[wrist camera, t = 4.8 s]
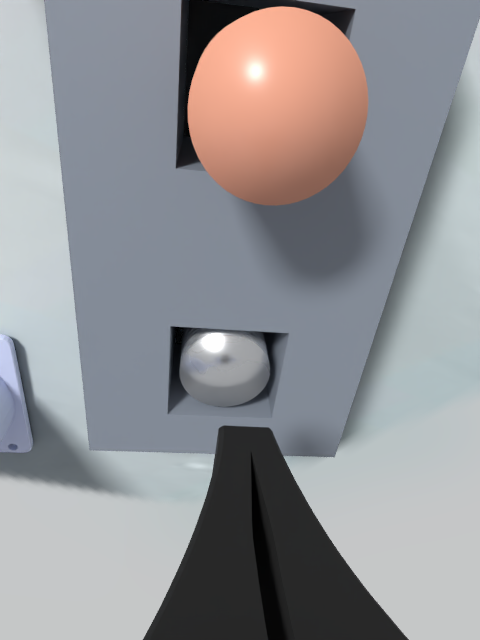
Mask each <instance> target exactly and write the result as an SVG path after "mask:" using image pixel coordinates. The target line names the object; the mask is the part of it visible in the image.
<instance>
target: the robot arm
mask: <svg viewBox="0 0 480 640" xmlns="http://www.w3.org/2000/svg"><path fill="white" fill-rule="evenodd" d="M32 446H33V438H32V433H31V428H30V423H29V418H28V413H27V408H26V403H25V398H24V393H23V387H22V382H21V377H20V372H19V367H18V362H17V357H16V352H15V347H14V343H13V340H12V339H11V338H10V337H8V336H6V335H1V334H0V452H17V453H25V452H29V451H30V450H31V449H32ZM143 640H409V639H408V638H407V637H406V636H405V635H404V634H403V633H402V632H401V630H400V629H399V628H398V627H397V626H396V624H395V623H394V622H393V621H392V620H391V618H390V617H389V616H388V615H387V614H386V613H385V611H384V610H383V609H382V608H381V607H380V605H379V604H378V603H377V602H376V601H375V600H374V598H373V597H372V596H371V595H370V593H369V592H368V591H367V590H366V588H365V587H364V586H363V584H362V583H361V582H360V580H359V579H358V578H357V576H356V575H355V574H354V573H353V571H352V570H351V568H350V567H349V566H348V564H347V563H346V561H345V560H344V559H343V557H342V556H341V555H340V553H339V552H338V551H337V549H336V547H335V546H334V544H333V543H332V541H331V540H330V539H329V537H328V536H327V534H326V532H325V531H324V529H323V527H322V526H321V524H320V523H319V521H318V519H317V518H316V516H315V515H314V513H313V511H312V509H311V508H310V506H309V504H308V503H307V501H306V499H305V497H304V495H303V494H302V492H301V490H300V488H299V486H298V485H297V483H296V481H295V479H294V477H293V475H292V473H291V471H290V469H289V467H288V465H287V463H286V461H285V459H284V457H283V455H282V453H281V450H280V448H279V446H278V444H277V441H276V439H275V437H274V434H273V431H272V430H271V429H270V428H269V427H248V426H226V425H223V426H222V427H220V428H219V429H218V437H217V444H216V451H215V459H214V466H213V473H212V478H211V482H210V485H209V489H208V492H207V496H206V499H205V502H204V505H203V508H202V511H201V514H200V516H199V519H198V522H197V525H196V528H195V530H194V533H193V535H192V538H191V540H190V543H189V545H188V548H187V550H186V553H185V555H184V557H183V559H182V562H181V564H180V566H179V569H178V571H177V573H176V575H175V577H174V579H173V582H172V584H171V586H170V588H169V590H168V592H167V594H166V597H165V598H164V601H163V603H162V605H161V607H160V609H159V611H158V613H157V614H156V616H155V618H154V620H153V622H152V624H151V626H150V628H149V630H148V631H147V633H146V635H145V637H144V639H143Z"/></svg>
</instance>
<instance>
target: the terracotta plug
mask: <svg viewBox="0 0 480 640" xmlns="http://www.w3.org/2000/svg"><path fill="white" fill-rule="evenodd" d="M367 114H368V87H367V82H366V76H365V73H364V69H363V66H362V63H361V61H360V59H359V56H358V54H357V52H356V50H355V49H354V47H353V46H352V44H351V43H350V41H349V40H348V38H347V37H346V36H345V35H344V34H343V33H342V32H341V30H339V29H338V28H337V27H336V26H335V25H334V24H332V23H331V22H330V21H328V20H327V19H325V18H323V17H322V16H320V15H318V14H315V13H313V12H311V11H308V10H304V9H300V8H296V7H282V6H281V7H271V8H265V9H261V10H258V11H254V12H252V13H250V14H247V15H245V16H243V17H241V18H239V19H238V20H236V21H234V22H232V23H231V24H229V25H227V26H226V27H224V28H223V29H222V30H221V31H219V32H218V33H217V34H216V35H215V36H214V37H213V38H212V39H211V41H210V42H209V43H208V45H207V46H206V48H205V49H204V51H203V53H202V55H201V57H200V60H199V62H198V65H197V68H196V71H195V73H194V76H193V79H192V83H191V87H190V91H189V99H188V124H189V131H190V136H191V139H192V143H193V146H194V149H195V151H196V154H197V156H198V158H199V160H200V162H201V163H202V165H203V167H204V168H205V169H206V171H207V172H208V174H209V175H210V176H211V177H212V178H213V179H214V180H215V181H216V182H217V184H219V185H220V186H221V187H222V188H224V189H225V190H226V191H228V192H229V193H231V194H233V195H234V196H236V197H238V198H240V199H243V200H245V201H248V202H252V203H255V204H261V205H286V204H291V203H295V202H299V201H301V200H304V199H307V198H309V197H311V196H313V195H315V194H317V193H318V192H320V191H321V190H323V189H324V188H326V187H327V186H328V185H329V184H331V183H332V182H333V181H334V180H335V179H336V178H337V177H338V176H339V175H340V174H341V173H342V172H343V171H344V169H345V168H346V166H347V165H348V164H349V162H350V161H351V159H352V157H353V156H354V154H355V152H356V151H357V148H358V146H359V144H360V141H361V139H362V136H363V132H364V129H365V125H366V120H367Z"/></svg>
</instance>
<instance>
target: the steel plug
mask: <svg viewBox="0 0 480 640" xmlns="http://www.w3.org/2000/svg"><path fill="white" fill-rule="evenodd" d="M179 372H180V380H181V383H182V385H183V387H184V389H185V390H186V391H187V392H188V393H189V394H190V395H191V396H192V397H193V398H195V399H196V400H198V401H200V402H202V403H204V404H208V405H211V406H218V407H229V406H235V405H239V404H243V403H245V402H247V401H249V400H251V399H253V398H254V397H256V396H257V395H258V394H259V393H260V392H261V391H262V390H263V389H264V387H265V386H266V384H267V382H268V380H269V376H270V365H269V359H268V354H267V349H266V343H265V338H264V333H263V332H260V331H243V330H226V329H209V328H192V327H183V335H182V347H181V359H180V371H179Z"/></svg>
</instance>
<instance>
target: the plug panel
mask: <svg viewBox="0 0 480 640" xmlns="http://www.w3.org/2000/svg"><path fill="white" fill-rule="evenodd" d="M203 1H210V2H217V3H224V4H231V5H238V6H246V7H253V8H260V9H265V8H271V7H281V6H282V7H296V8H300V9H304V10H308V11H311V12H313V13H315V14H318V15H320V16H322V17H323V18H325V19H327V20H328V21H330V22H331V23H332V24H334V25H335V26H336V27H337V28H338V29H339V30H341V32H342V33H343V34H344V35H345V36H346V37H347V38H348V40H349V41H350V43H351V44H352V46H353V47H354V49H355V50H356V52H357V54H358V56H359V59H360V61H361V63H362V66H363V69H364V73H365V76H366V82H367V87H368V114H367V120H366V125H365V129H364V132H363V136H362V139H361V141H360V144H359V146H358V148H357V151H356V152H355V154H354V156H353V157H352V159H351V161H350V162H349V164H348V165H347V166H346V168H345V169H344V171H343V172H342V173H341V174H340V175H339V176H338V177H337V178H336V179H335V180H334V181H333V182H332V183H331V184H329V185H328V186H327V187H326V188H324V189H323V190H321V191H320V192H318V193H317V194H315V195H313V196H311V197H309V198H307V199H304V200H301V201H299V202H295V203H291V204H286V205H261V204H255V203H252V202H248V201H245V200H243V199H240V198H238V197H236V196H234V195H233V194H231V193H229V192H228V191H226V190H225V189H224V188H222V187H221V186H220V185H219V184H217V182H216V181H215V180H214V179H213V178H212V177H211V176H210V175H209V174H208V172H207V171H206V169H205V168H204V167H203V165H202V163H201V162H200V160H199V158H198V156H197V154H196V151H195V149H194V146H193V143H192V139H191V137H184V112H185V88H186V63H187V39H188V14H189V0H44V2H45V12H46V22H47V32H48V42H49V52H50V62H51V72H52V82H53V92H54V102H55V112H56V122H57V132H58V142H59V152H60V161H61V171H62V181H63V191H64V201H65V211H66V221H67V231H68V241H69V251H70V261H71V271H72V281H73V291H74V301H75V311H76V321H77V330H78V340H79V350H80V360H81V370H82V380H83V390H84V400H85V410H86V420H87V430H88V440H89V450H100V451H136V452H172V453H209V454H215V451H216V444H217V437H218V429H219V428H220V427H222V426H223V425H226V426H248V427H269V428H270V429H271V430H272V431H273V434H274V437H275V439H276V441H277V444H278V446H279V448H280V450H281V453H282V455H283V456H317V457H334V456H335V454H336V451H337V448H338V445H339V442H340V439H341V436H342V433H343V430H344V427H345V424H346V421H347V418H348V415H349V412H350V409H351V406H352V403H353V400H354V397H355V394H356V391H357V388H358V385H359V382H360V379H361V376H362V373H363V370H364V367H365V364H366V360H367V357H368V354H369V351H370V348H371V345H372V342H373V339H374V336H375V333H376V330H377V327H378V324H379V321H380V318H381V315H382V312H383V309H384V306H385V303H386V300H387V297H388V294H389V291H390V288H391V285H392V282H393V279H394V276H395V273H396V270H397V267H398V264H399V261H400V258H401V255H402V252H403V249H404V246H405V242H406V239H407V236H408V233H409V230H410V227H411V224H412V221H413V218H414V215H415V212H416V209H417V206H418V203H419V200H420V197H421V194H422V191H423V188H424V185H425V182H426V179H427V176H428V173H429V170H430V167H431V164H432V161H433V158H434V155H435V152H436V149H437V146H438V143H439V140H440V137H441V134H442V131H443V127H444V124H445V121H446V118H447V115H448V112H449V109H450V106H451V103H452V100H453V97H454V94H455V91H456V88H457V85H458V82H459V79H460V76H461V73H462V70H463V67H464V64H465V61H466V58H467V55H468V52H469V49H470V46H471V43H472V40H473V37H474V34H475V31H476V28H477V25H478V22H479V19H480V0H203ZM176 327H192V328H209V329H226V330H243V331H260V332H263V333H264V338H265V343H266V349H267V354H268V359H269V365H270V376H269V380H268V382H267V384H266V386H265V387H264V389H263V390H262V391H261V392H260V393H259V394H258V395H257V396H256V397H254V398H253V399H251V400H249V401H247V402H245V403H243V404H239V405H235V406H229V407H218V406H211V405H208V404H204V403H202V402H200V401H198V400H196V399H195V398H193V397H192V396H191V395H190V394H189V393H188V392H187V391H186V390H185V389H184V387H183V385H182V383H181V380H180V372H179V371H180V359H181V347H182V345H179V344H175V333H176Z"/></svg>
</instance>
